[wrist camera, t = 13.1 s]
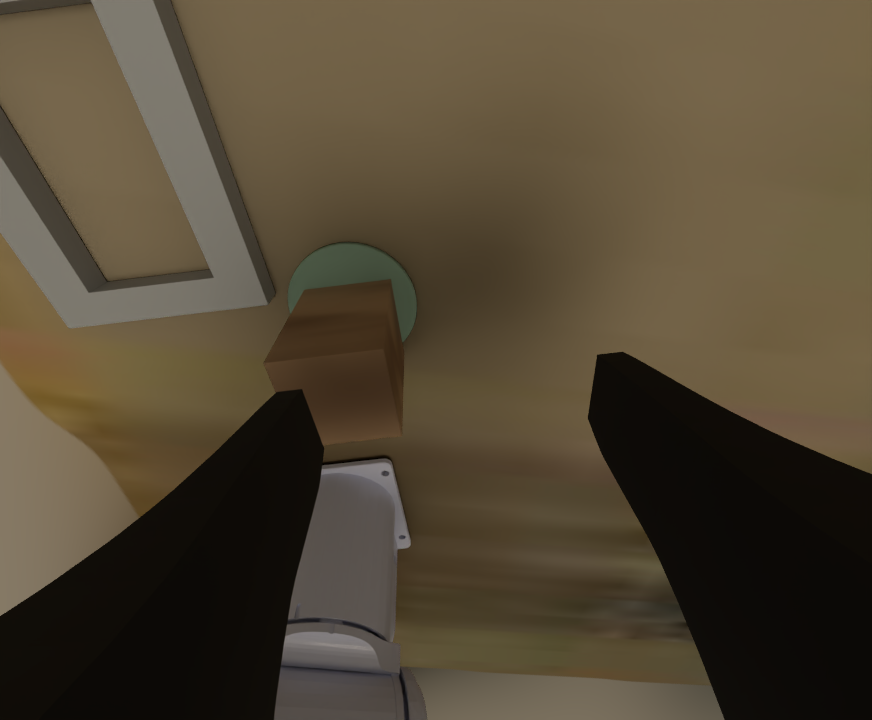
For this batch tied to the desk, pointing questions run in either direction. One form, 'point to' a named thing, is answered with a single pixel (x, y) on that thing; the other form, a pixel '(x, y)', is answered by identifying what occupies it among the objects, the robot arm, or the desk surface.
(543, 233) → the desk surface
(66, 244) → the slot board
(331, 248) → the green pad
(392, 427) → the walnut block
